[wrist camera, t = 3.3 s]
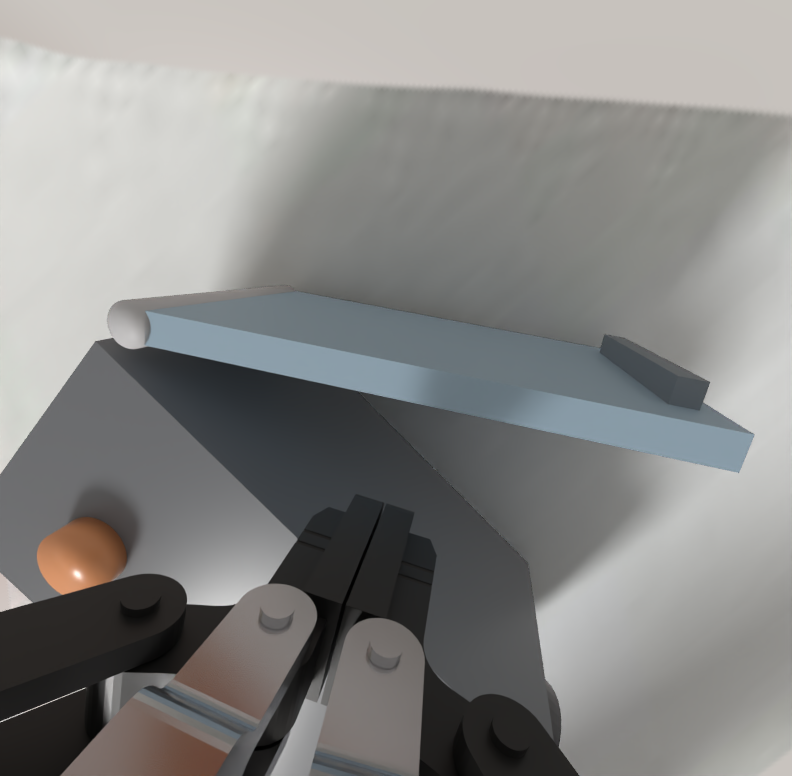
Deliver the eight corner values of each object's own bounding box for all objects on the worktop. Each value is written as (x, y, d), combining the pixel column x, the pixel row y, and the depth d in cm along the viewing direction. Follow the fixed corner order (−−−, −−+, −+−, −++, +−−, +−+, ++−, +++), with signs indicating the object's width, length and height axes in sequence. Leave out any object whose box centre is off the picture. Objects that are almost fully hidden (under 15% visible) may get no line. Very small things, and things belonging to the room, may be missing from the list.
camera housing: (564, 600, 26) (635, 898, 14) (437, 683, 29) (403, 988, 17) (273, 307, 25) (65, 346, 13) (172, 425, 28) (-74, 549, 16)
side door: (628, 335, 21) (767, 403, 11) (615, 377, 22) (735, 479, 11) (275, 271, 23) (106, 274, 13) (271, 310, 24) (107, 344, 14)
